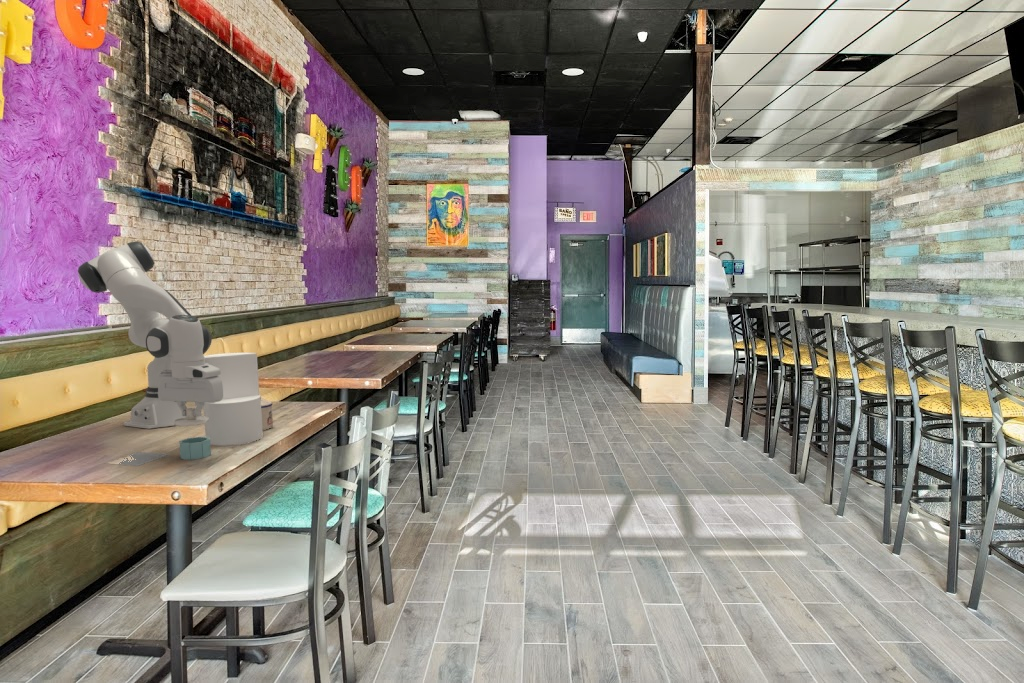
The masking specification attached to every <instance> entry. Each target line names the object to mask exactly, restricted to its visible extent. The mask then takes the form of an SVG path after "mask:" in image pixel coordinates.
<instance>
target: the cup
mask: <svg viewBox="0 0 1024 683" xmlns="http://www.w3.org/2000/svg"><path fill="white" fill-rule="evenodd" d="M211 446H212V445H210V438H209V437H205V436H195V437H188V438H184V439H180V440H179V456H180V459H181V460H185V461H192V460H193V461H194V460H199V459H204V458H207V457H210V456H211V455H212V447H211Z"/></svg>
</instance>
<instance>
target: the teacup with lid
mask: <svg viewBox="0 0 1024 683" xmlns="http://www.w3.org/2000/svg"><path fill="white" fill-rule="evenodd" d="M261 412H262V430H263V431H267V430H266V429H268V430H270V429H269V428H271V429H273V426H274V424H273V423H274V422H273V421H274V420H273V402H272V401H270V400H266V398H261Z"/></svg>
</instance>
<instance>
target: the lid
mask: <svg viewBox="0 0 1024 683" xmlns="http://www.w3.org/2000/svg"><path fill="white" fill-rule="evenodd" d="M195 410H196V407H189V408H188V407H187V409H186V417H185V418H180V419H177V420H175V421H174V423H175V425H174V426H175V427H176V426H177V427H190V426H191V427H193V426H200V425H203V424H204V425H205V423H207V422H208V421H209V419H208V417H206V416H204V415H201V416H199V417H194V416H193V411H195Z"/></svg>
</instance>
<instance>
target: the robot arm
mask: <svg viewBox="0 0 1024 683" xmlns="http://www.w3.org/2000/svg"><path fill="white" fill-rule="evenodd" d="M154 265H155V258H154V255H153V252H152V251H151V250H150V248H149V247H147V245H145V244H143V243H142V242H140V241H137V240H136V241H131V242H127V243H126V244H123V245H121V246H117V247H115V248H112V249H109V250H107V251H105V252H103V253H102V254H100V255H97V256H95V257H94V258H92V259H91V260H89V261H85V262H84V263H82V264H80V265H79V266H78V269H77V272H78V279H79V280H80V283H81V284H82V285H83V286H84V287H85V288H86V289H87V290H90V291H91V292H92V293H96V294H99V293H104V292H107V291H109V293H110V294H111V296H112V297H114V299H115V300H116V301H117V302H119V303H120V305H121V307H122V308H123V309H124V311H125V313H126V314H127V316H128V319H129V321H130V327H129V328H128V332H127V333H128V339H129V340H130V342H131V343H132V344H133V345H136V346H138V347H141V348H145V349H147V352H148V353H149V354H150V355H151V356H152V357H154V358H153V360H152V361H151V362H149V363H148V365H147V367H146V370H147V384H148V386H147V387H146V388H143V389H142V393H145V395H144V397H143V398H142V399H141V400H140V401H139V402H137V404H135V405H133V407H132V408H131V410H130V419H129V420H126V421H124V422H123V426H126V427H133V428H141V429H156V428H165V427H172V426H173V427H174V426H176V425H175V423H174V421H175V420H177V419H180V418H185V417H186V409H188V407H187V403H194V405H195V406H196V407H195V408H196V410H195V411H193V416H194V417H199V416H202V410H203V409H204V408H203V406H204V402H207V403H215V402H219V401H221V400H222V398H223V386H222V381H221V378H220V377H218V375H220V374H221V371H220V369H219V368H217V367H215V366H212V365H210V364H208V363H205V358H204V356H205V355H204V354H205V353H207V351H208V350H209V349H210V347H211V345H212V340H213V339H212V338H213V337H212V334H211V332H210V330H209V329H208V328H207V327H206V325H204V324H203V323H201V321H200V318H198V317H196V316H194V315H192V314H191V313H190V312H189V311H188V310H187V309H186V308H185V307H184V305H182V304H181V302H180V301H179V300H178V299H176V297H175V296H174V295H173V294H171V292H169V291H168V290H166V289H164V288H163V287H161V286H159V285H158V284H157V283H155V282H154V281H153V280H152V279H151V278H150V277H149V276H148V275H147V274H146V273H148V272H149V271H151V270H152V269H153V267H154ZM159 314H161V315H163V316H164V317H165V318H162V317H161V316H160V315H159Z"/></svg>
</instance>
